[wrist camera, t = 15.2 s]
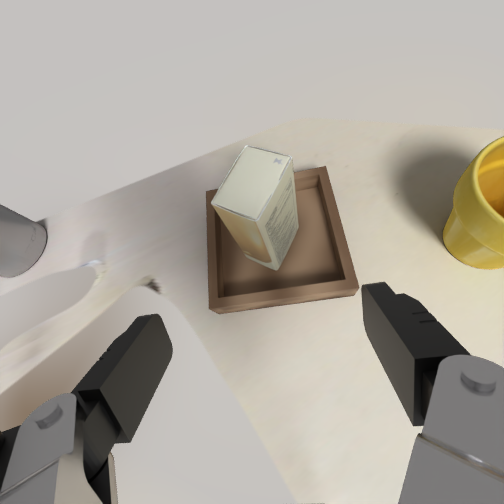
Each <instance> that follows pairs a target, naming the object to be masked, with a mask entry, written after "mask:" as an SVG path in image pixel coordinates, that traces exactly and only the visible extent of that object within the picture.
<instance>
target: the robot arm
mask: <svg viewBox="0 0 504 504" xmlns="http://www.w3.org/2000/svg"><path fill="white" fill-rule="evenodd" d="M46 239H47V238H46V231H45V229H44V228H43V226H41V225H40V224H38V223H36V222H34V221H32V220H30V219H28V218H26V217H24V216H22V215H20V214H18V213H16V212H14V211H12V210H10V209H8V208H6V207H4V206H2V205H0V276H1V277H6V278H10V277H15V276H17V275H20V274H22V273H23V272H25V271H26V270H28V269H29V268H30V267H31V266H32V265H33V264H34V263H35V262H36V261H37V260H38V258H39V257H40V255H41V254H42V252H43V250H44V247H45V244H46ZM361 292H362V306H363V321H364V326H365V330H366V333H367V336H368V338H369V340H370V342H371V344H372V346H373V348H374V350H375V352H376V354H377V356H378V358H379V360H380V362H381V364H382V366H383V368H384V370H385V372H386V374H387V376H388V378H389V380H390V382H391V384H392V386H393V387H394V389H395V391H396V393H397V395H398V397H399V399H400V401H401V403H402V405H403V407H404V409H405V411H406V413H407V415H408V417H409V419H410V421H411V423H412V425H413V426H424V427H423V430H422V433H421V434H420V433H418V435H417V437H416V440H415V443H414V446H413V450H412V454H411V457H410V461H409V465H408V469H407V472H406V476H405V480H404V484H403V487H402V491H401V495H400V499H399V502H398V504H504V368H503V367H501V366H499V365H497V364H495V363H494V362H491V361H489V360H486V359H483V358H480V357H476V356H471V355H470V353H469V352H468V351H467V350H466V349H465V348H464V347H463V346H462V345H461V344H460V343H459V342H458V341H457V340H456V339H455V338H454V337H453V336H452V335H451V334H450V333H449V332H448V331H447V330H446V329H445V328H444V327H443V326H442V325H441V324H440V323H439V322H437V320H436V318H435V317H434V316H433V315H432V314H431V313H429V312H428V310H427V309H426V308H425V307H424V306H423V305H422V304H421V303H420V302H419V301H418V300H416V299H414V298H412V297H410V296H408V295H406V294H404V293H403V294H395V293H394V292H393V291H392V289H391V288H390V287H389V286H388V285H387V284H386V283H385V282H379V283H372V284H365V285H362V288H361ZM172 352H173V348H172V343H171V340H170V338H169V336H168V333H167V331H166V328H165V326H164V323H163V321H162V318H161V317H160V316H159V315H158V314H151V315H144V316H139V317H137V318H136V319H135V321H134V322H133V323H132V324H131V325H130V327H129V328H128V329H127V330H126V331H125V332H124V333H123V334H122V335H120V336H119V337H118V338H116V339H115V340H114V341H113V343H112V344H111V345H110V346H109V347H108V349H107V351H106V352H104V354H103V355H102V356H101V357H100V358H99V361H97V362H96V363H95V364H94V365H93V367H92V368H91V369H90V370H89V371H88V373H87V374H86V375H85V376H84V377H83V379H82V380H81V381H80V382H79V383H78V385H77V386H76V387H75V388H74V389H73V391H72V392H71V393H65V394H61V395H58V396H56V397H54V398H52V399H50V400H48V401H46V402H45V403H43V404H42V405H41V406H39V407H38V408H37V409H36V410H34V411H33V412H32V413H31V414H30V415H29V416H28V417H27V418H26V419H25V421H24V422H23V423H22V425H20V426H17V427H14V428H12V429H9V430H6V431H4V432H1V431H0V504H118V497H117V488H116V487H117V486H116V476H115V465H114V457H113V455H112V453H111V452H110V451H111V449H112V447H113V446H114V444H115V443H130V442H131V440H132V438H133V436H134V434H135V432H136V430H137V428H138V426H139V424H140V422H141V420H142V418H143V416H144V414H145V411H146V409H147V408H148V405H149V403H150V401H151V399H152V397H153V395H154V393H155V391H156V389H157V387H158V385H159V383H160V381H161V379H162V377H163V375H164V372H165V370H166V369H167V366H168V364H169V362H170V360H171V358H172Z"/></svg>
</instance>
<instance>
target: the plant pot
mask: <svg viewBox="0 0 504 504" xmlns="http://www.w3.org/2000/svg"><path fill="white" fill-rule="evenodd" d="M453 206H454V207H453V209H452V211H451V214H450V216H449V218H448V220H447V222H446V225H445V227H444V230H443V241H444V244H445V246H446V248H447V249H448V251H449V252H450V253H451V254H452V255H453V256H454V257H455V258H457V259H458V260H459V261H461V262H463V263H465V264H467V265H469V266H472V267H475V268H480V269H499V268H504V136H503V137H501V138H499V139H497V140H495V141H493V142H492V143H490V144H489V145H487V146H486V147H485V148H484V149H482V150H481V151H480V153H479V154H478V155H477V156H476V157H475V158H474V160H473V161H472V162H471V163H470V165H469V166H468V167H467V169H466V170H465V172H464V173H463V174H462V176H461V177H460V179H459V181H458V182H457V184H456V187H455V190H454V194H453Z"/></svg>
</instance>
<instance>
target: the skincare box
mask: <svg viewBox="0 0 504 504" xmlns="http://www.w3.org/2000/svg"><path fill="white" fill-rule="evenodd" d="M211 204H212V206H213V207H214V209H215V210H216V212H217V213H218V215H219V216H220V218H221V219H222V221H223V222H224V224H225V226H226V227H227V228H228V230H229V231H230V233H231V235H232V236H233V238H234V239H235V241H236V242H237V244H238V245H239V247H240V248H241V250H242V251H243V253H244V254H245V256H246V257H247V258H249V259H251V260H253V261H255V262H257V263H259V264H262V265H264V266H266V267H268V268H271V269H273V270H278V269H279V267H280V265H281V263H282V261H283V260H284V258H285V256H286V254H287V252H288V250H289V248H290V245H291V243H292V241H293V239H294V237H295V235H296V232H297V230H298V228H299V225H298V215H297V204H296V193H295V182H294V171H293V161H292V156H289V155H285V154H282V153H278V152H274V151H270V150H266V149H262V148H258V147H253V146H249V145H246V146H245V147H244V149H243V150H242V152H241V153H240V155H239V156H238V158H237V159H236V161H235V162H234V164H233V166H232V167H231V169H230V171H229V172H228V174H227V176H226V177H225V179H224V181H223V182H222V184H221V186H220V188H219V189H218V191H217V193H216V195H215V197H214V198H213V200H212V202H211Z"/></svg>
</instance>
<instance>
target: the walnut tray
mask: <svg viewBox="0 0 504 504" xmlns="http://www.w3.org/2000/svg"><path fill="white" fill-rule="evenodd" d="M294 182H295V193H296V204H297V215H298V225H299V228H298V230H297V232H296V235H295V237H294V239H293V241H292V243H291V245H290V248H289V250H288V252H287V254H286V256H285V258H284V260H283V261H282V263H281V265H280V267H279V269H278V270H273V269H271V268H268V267H266V266H264V265H262V264H259V263H257V262H255V261H253V260H251V259H249V258H247V257H246V256H245V254H244V253H243V251H242V250H241V248H240V247H239V245H238V244H237V242H236V241H235V239H234V238H233V236H232V235H231V233H230V231H229V230H228V228H227V227H226V226H225V224H224V222H223V221H222V219H221V218H220V216H219V215H218V213H217V212H216V210H215V209H214V207H213V206H212V204H211V202H212V200H213V198H214V197H215V195H216V193H217V191H218V189H215V190H210V191H206V208H207V249H208V291H209V309H210V310H212V311H214V312H216V313H218V314H223V313H230V312H238V311H245V310H252V309H260V308H267V307H274V306H282V305H289V304H296V303H304V302H311V301H318V300H326V299H333V298H340V297H348V296H354V295H355V293H356V292H357V291H358V289H359V285H358V281H357V278H356V274H355V270H354V267H353V263H352V259H351V256H350V252H349V249H348V245H347V241H346V238H345V234H344V230H343V227H342V223H341V219H340V216H339V212H338V209H337V205H336V201H335V198H334V194H333V190H332V187H331V183H330V179H329V176H328V172H327V169H326V166H324V167H319V168H314V169H309V170H305V171H300V172H295V173H294Z"/></svg>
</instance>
